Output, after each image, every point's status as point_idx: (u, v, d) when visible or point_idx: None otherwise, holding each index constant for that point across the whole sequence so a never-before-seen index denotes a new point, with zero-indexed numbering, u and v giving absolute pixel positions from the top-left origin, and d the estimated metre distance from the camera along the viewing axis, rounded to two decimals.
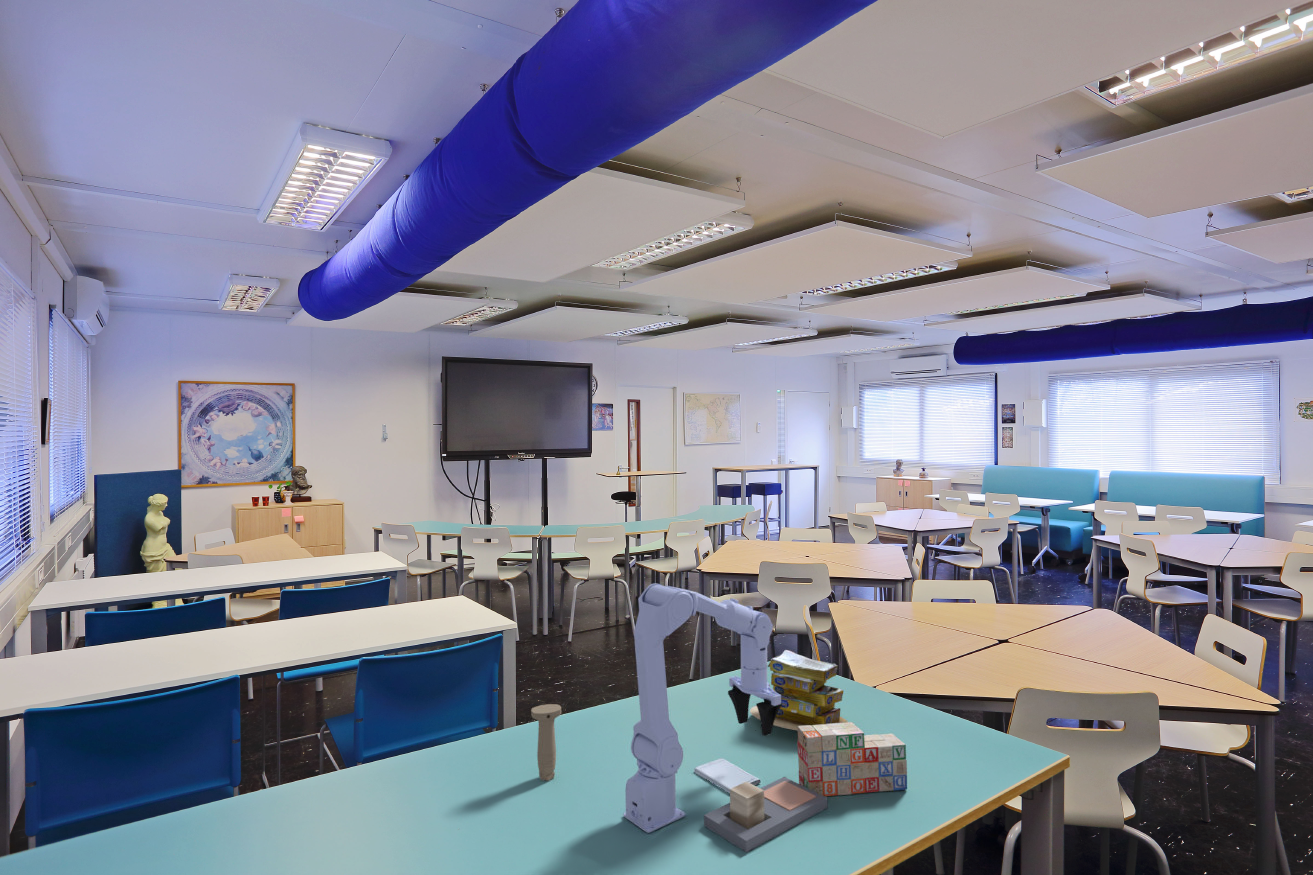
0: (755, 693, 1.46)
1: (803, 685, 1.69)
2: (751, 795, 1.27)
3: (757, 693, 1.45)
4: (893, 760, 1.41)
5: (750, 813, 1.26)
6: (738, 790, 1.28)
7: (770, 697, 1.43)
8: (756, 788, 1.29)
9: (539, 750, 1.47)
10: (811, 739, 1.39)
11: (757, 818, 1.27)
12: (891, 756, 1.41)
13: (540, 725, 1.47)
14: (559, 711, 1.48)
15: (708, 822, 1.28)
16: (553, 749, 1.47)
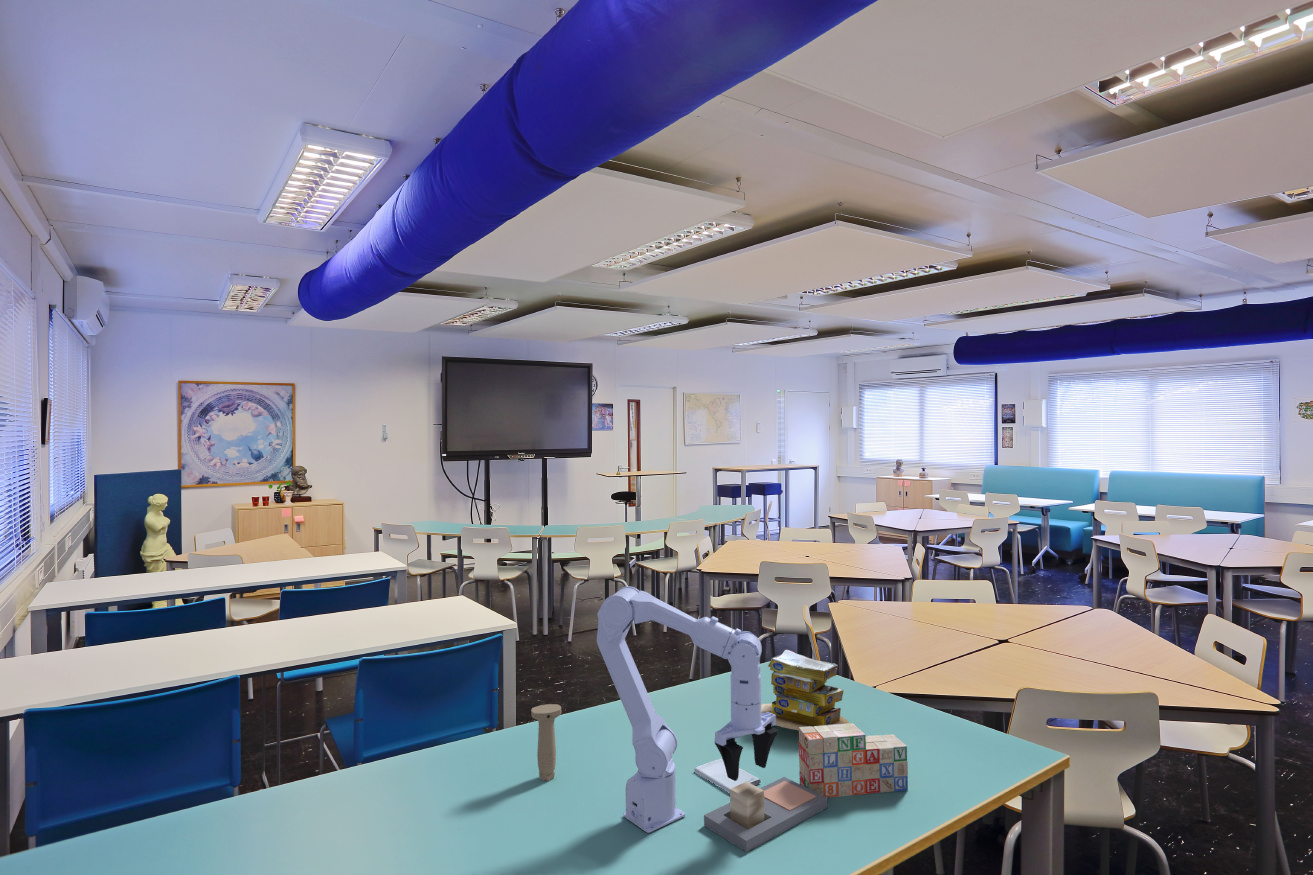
0: None
1: (803, 685, 1.69)
2: (751, 795, 1.27)
3: None
4: (894, 762, 1.41)
5: (750, 813, 1.26)
6: (738, 790, 1.28)
7: None
8: (756, 788, 1.29)
9: (539, 750, 1.47)
10: (813, 741, 1.39)
11: (757, 818, 1.27)
12: (892, 757, 1.41)
13: (540, 725, 1.47)
14: (559, 711, 1.48)
15: (708, 822, 1.28)
16: (553, 749, 1.47)
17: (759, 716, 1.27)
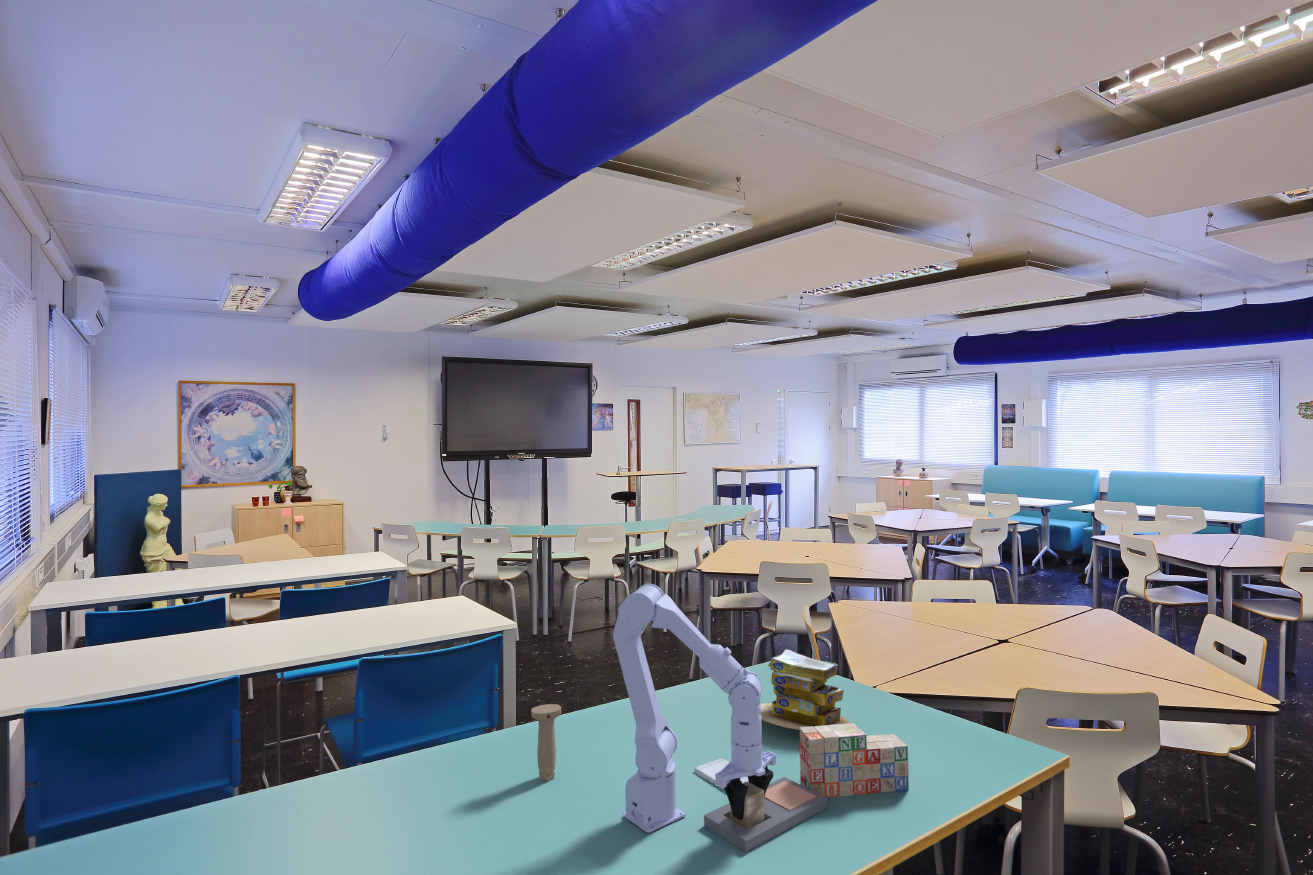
0: None
1: (804, 685, 1.69)
2: (751, 795, 1.27)
3: None
4: (894, 762, 1.41)
5: (750, 813, 1.26)
6: None
7: None
8: (756, 788, 1.29)
9: (539, 750, 1.47)
10: (814, 741, 1.39)
11: (757, 817, 1.27)
12: (893, 757, 1.41)
13: (540, 725, 1.47)
14: (559, 711, 1.48)
15: (708, 822, 1.28)
16: (553, 749, 1.47)
17: (759, 757, 1.27)
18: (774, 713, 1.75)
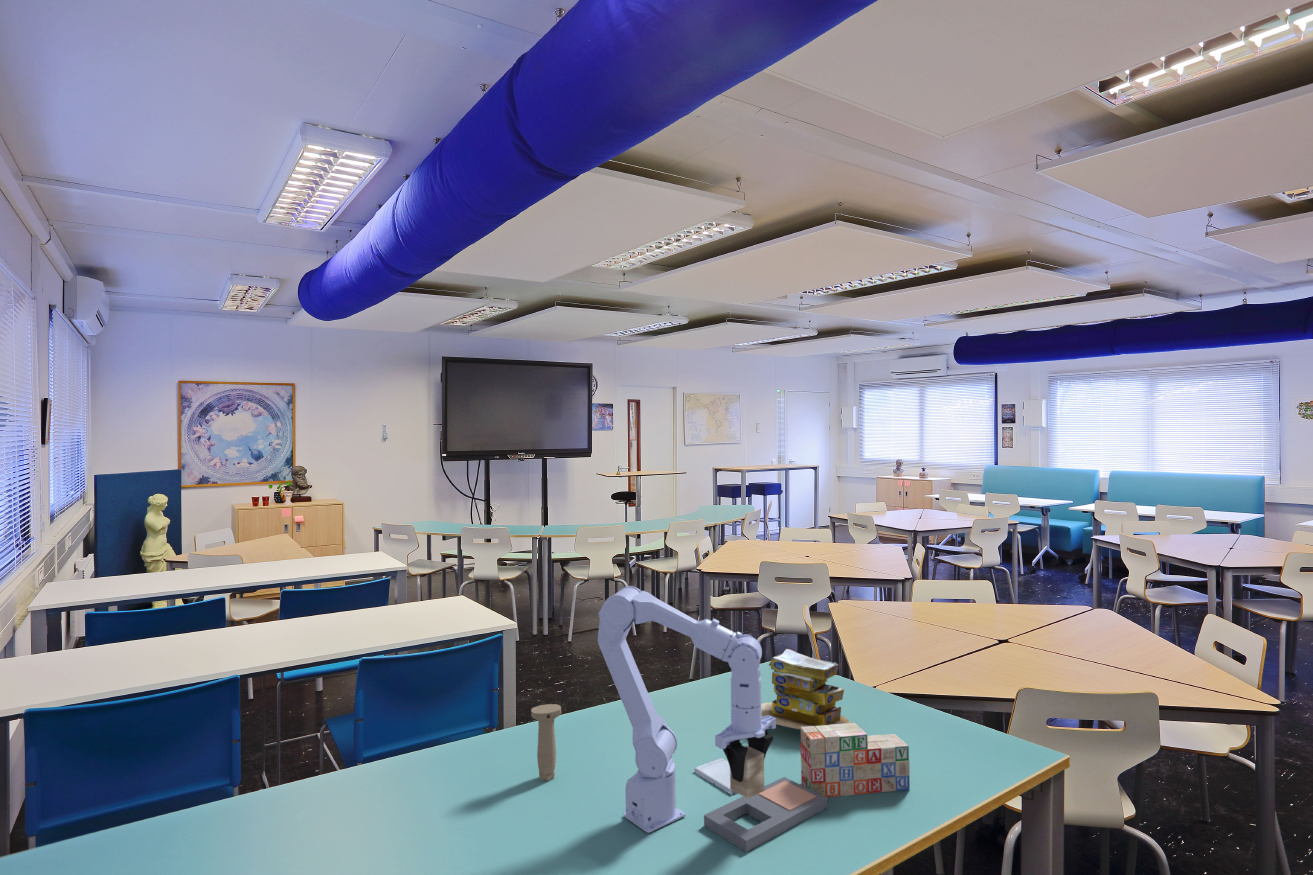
0: None
1: (804, 684, 1.70)
2: (751, 757, 1.27)
3: None
4: (895, 761, 1.41)
5: (750, 775, 1.26)
6: None
7: None
8: (756, 751, 1.29)
9: (539, 750, 1.47)
10: (815, 740, 1.39)
11: (757, 780, 1.27)
12: (894, 757, 1.41)
13: (540, 725, 1.47)
14: (559, 711, 1.48)
15: (708, 822, 1.28)
16: (553, 749, 1.47)
17: (759, 719, 1.27)
18: (774, 712, 1.76)
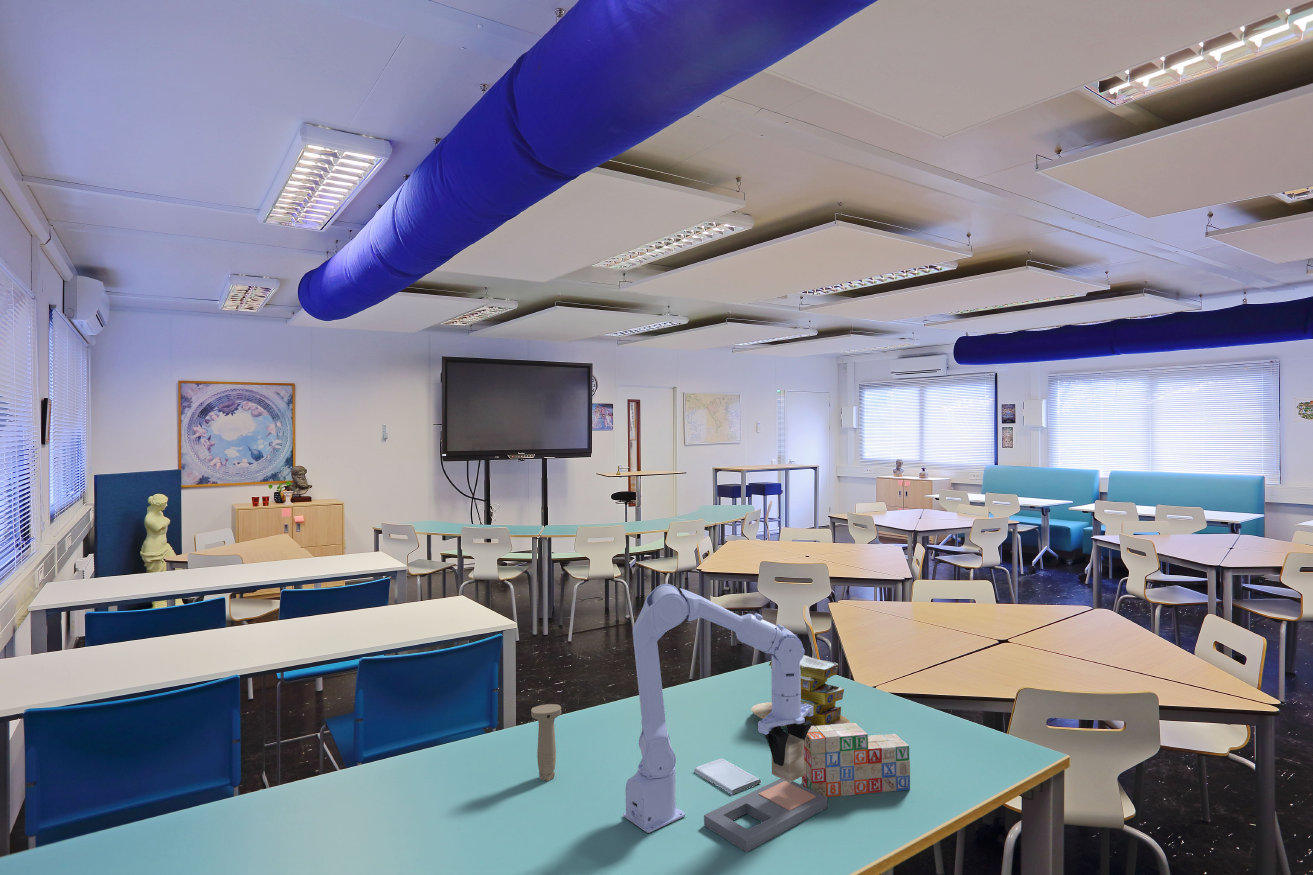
0: None
1: (804, 684, 1.70)
2: (792, 744, 1.34)
3: None
4: (896, 761, 1.41)
5: (792, 761, 1.33)
6: None
7: None
8: (796, 738, 1.36)
9: (539, 750, 1.47)
10: (815, 740, 1.39)
11: (798, 765, 1.34)
12: (894, 757, 1.41)
13: (540, 725, 1.47)
14: (559, 711, 1.48)
15: (708, 822, 1.28)
16: (553, 749, 1.47)
17: (799, 707, 1.34)
18: None
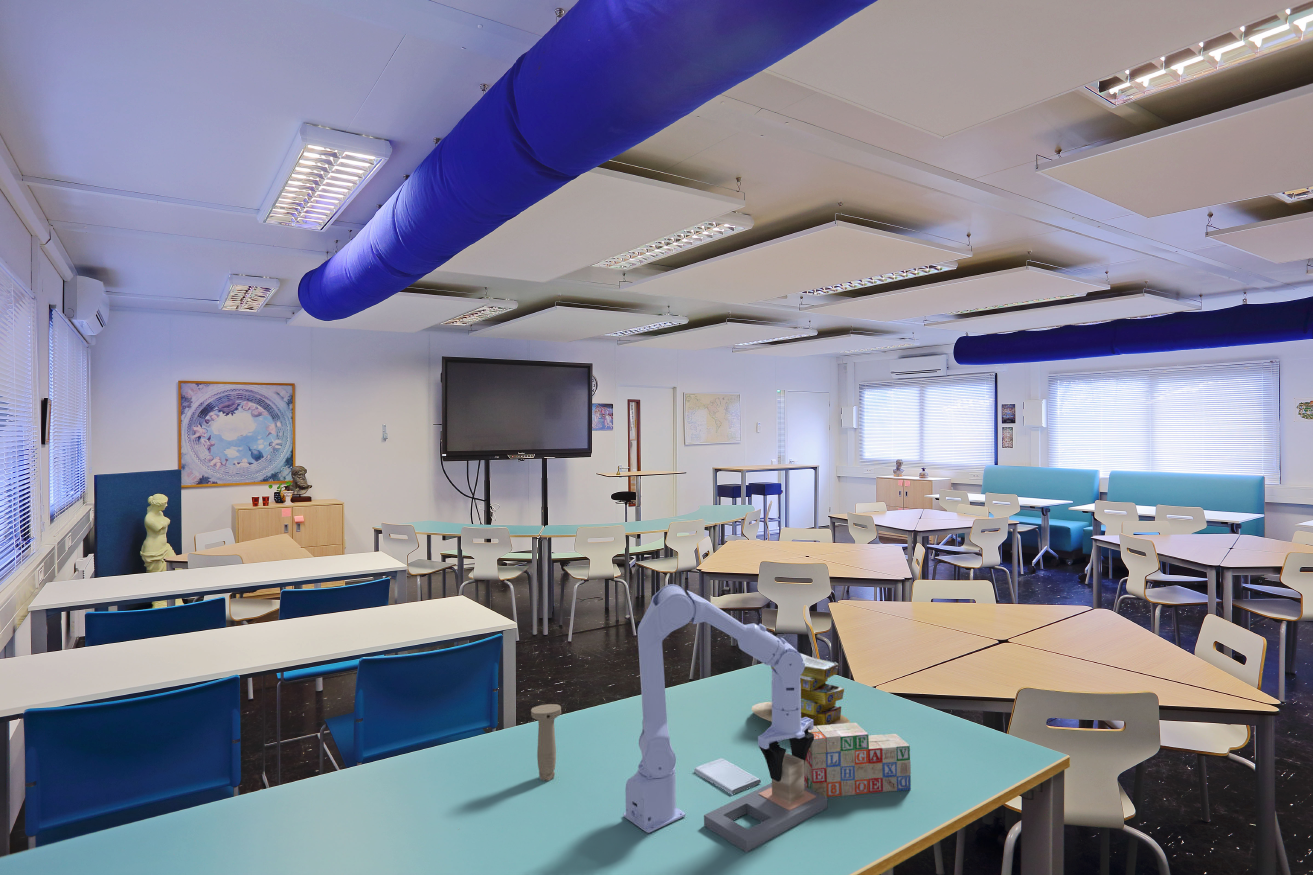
0: None
1: (804, 684, 1.70)
2: (792, 764, 1.34)
3: None
4: (897, 761, 1.41)
5: (792, 781, 1.33)
6: None
7: None
8: (796, 758, 1.36)
9: (539, 750, 1.47)
10: (816, 740, 1.39)
11: (798, 786, 1.34)
12: (895, 757, 1.41)
13: (540, 725, 1.47)
14: (559, 711, 1.48)
15: (708, 822, 1.28)
16: (553, 749, 1.47)
17: (799, 721, 1.34)
18: None
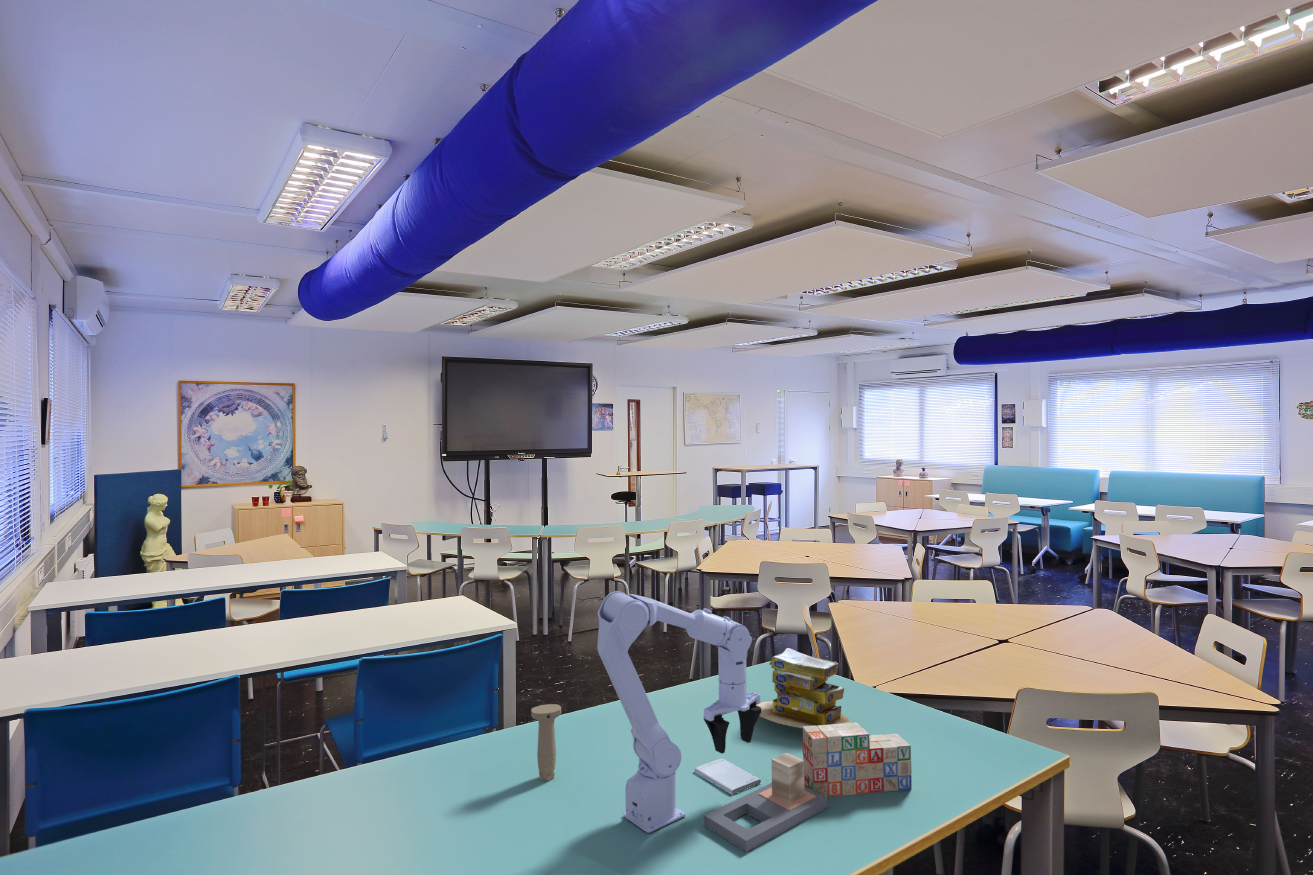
0: None
1: (804, 683, 1.71)
2: (792, 764, 1.34)
3: None
4: (897, 761, 1.42)
5: (792, 781, 1.33)
6: (779, 760, 1.35)
7: None
8: (796, 758, 1.36)
9: (539, 750, 1.47)
10: (817, 740, 1.39)
11: (798, 786, 1.34)
12: (896, 756, 1.41)
13: (540, 725, 1.47)
14: (559, 711, 1.48)
15: (708, 822, 1.28)
16: (553, 749, 1.47)
17: (744, 695, 1.39)
18: (775, 711, 1.77)
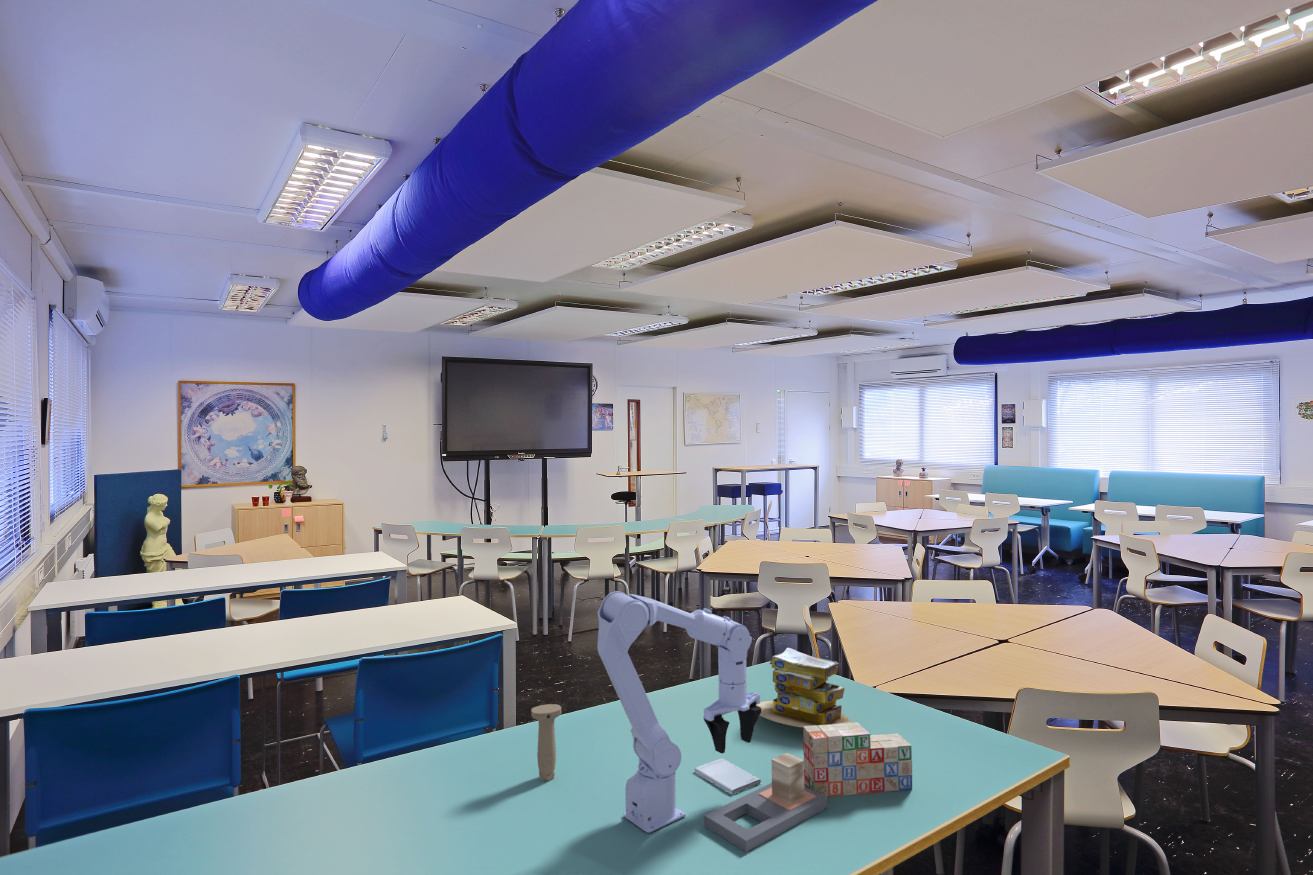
0: None
1: (804, 683, 1.71)
2: (792, 764, 1.34)
3: None
4: (898, 761, 1.42)
5: (792, 781, 1.33)
6: (779, 760, 1.35)
7: None
8: (796, 758, 1.36)
9: (539, 750, 1.47)
10: (817, 740, 1.39)
11: (798, 786, 1.34)
12: (897, 756, 1.41)
13: (540, 725, 1.47)
14: (559, 711, 1.48)
15: (708, 822, 1.28)
16: (553, 749, 1.47)
17: (744, 695, 1.39)
18: (775, 711, 1.77)
